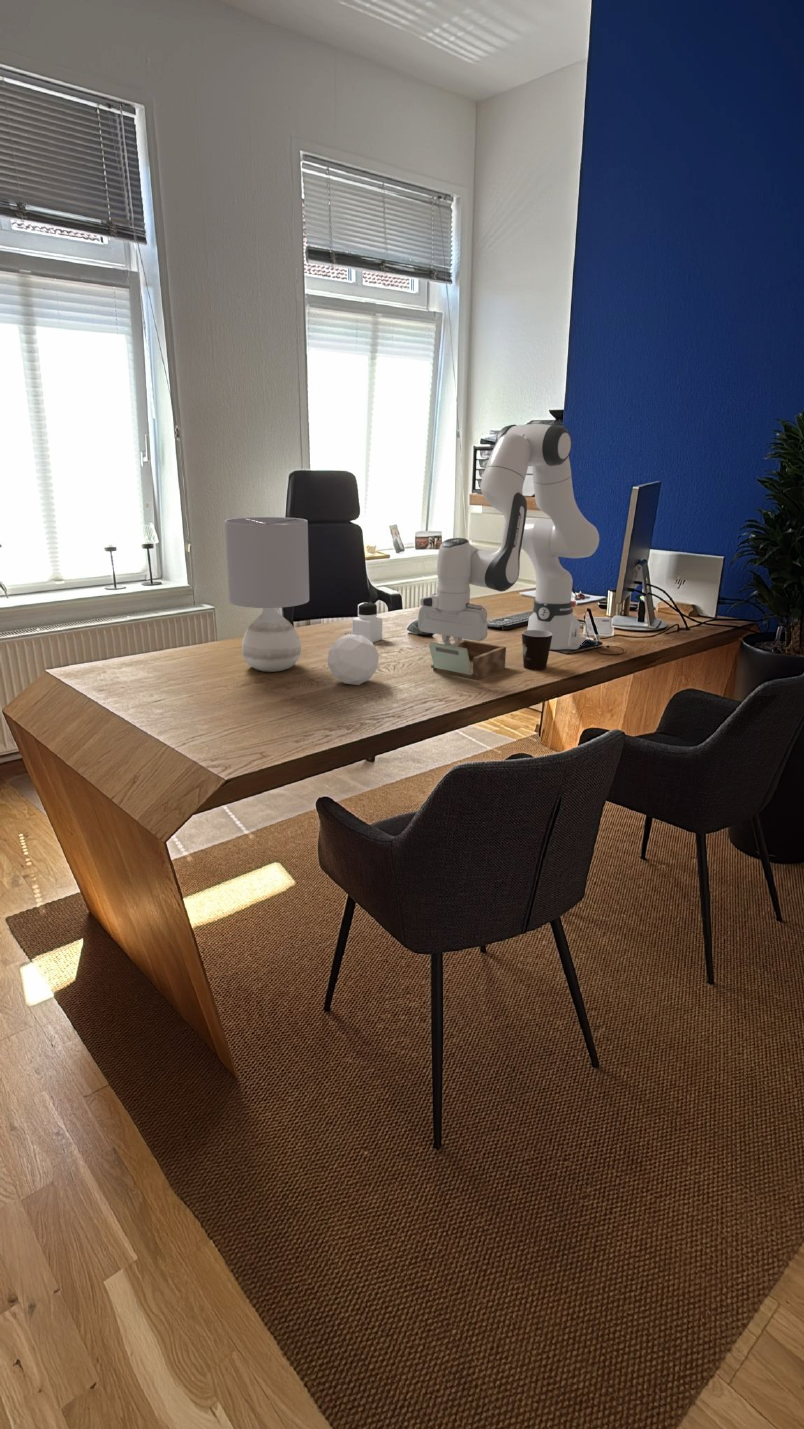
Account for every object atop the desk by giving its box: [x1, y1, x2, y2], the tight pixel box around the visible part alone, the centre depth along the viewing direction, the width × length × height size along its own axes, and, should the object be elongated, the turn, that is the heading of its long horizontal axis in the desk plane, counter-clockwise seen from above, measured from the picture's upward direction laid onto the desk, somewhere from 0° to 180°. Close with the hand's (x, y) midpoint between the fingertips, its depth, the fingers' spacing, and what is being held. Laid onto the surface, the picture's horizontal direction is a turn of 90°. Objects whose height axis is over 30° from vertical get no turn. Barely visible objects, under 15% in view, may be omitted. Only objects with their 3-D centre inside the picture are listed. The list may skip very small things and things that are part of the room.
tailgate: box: [428, 641, 472, 675], centre depth 212 cm, size 1×12×8 cm, turn 54°
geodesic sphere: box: [327, 631, 380, 686], centre depth 206 cm, size 14×14×14 cm
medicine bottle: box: [351, 602, 383, 644], centre depth 251 cm, size 7×7×12 cm
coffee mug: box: [521, 629, 553, 671], centre depth 225 cm, size 12×9×10 cm
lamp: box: [224, 516, 310, 673], centre depth 214 cm, size 22×22×40 cm
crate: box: [430, 639, 507, 680], centre depth 221 cm, size 17×14×6 cm
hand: (451, 651), depth 212 cm, fingers closed, pressing on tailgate
